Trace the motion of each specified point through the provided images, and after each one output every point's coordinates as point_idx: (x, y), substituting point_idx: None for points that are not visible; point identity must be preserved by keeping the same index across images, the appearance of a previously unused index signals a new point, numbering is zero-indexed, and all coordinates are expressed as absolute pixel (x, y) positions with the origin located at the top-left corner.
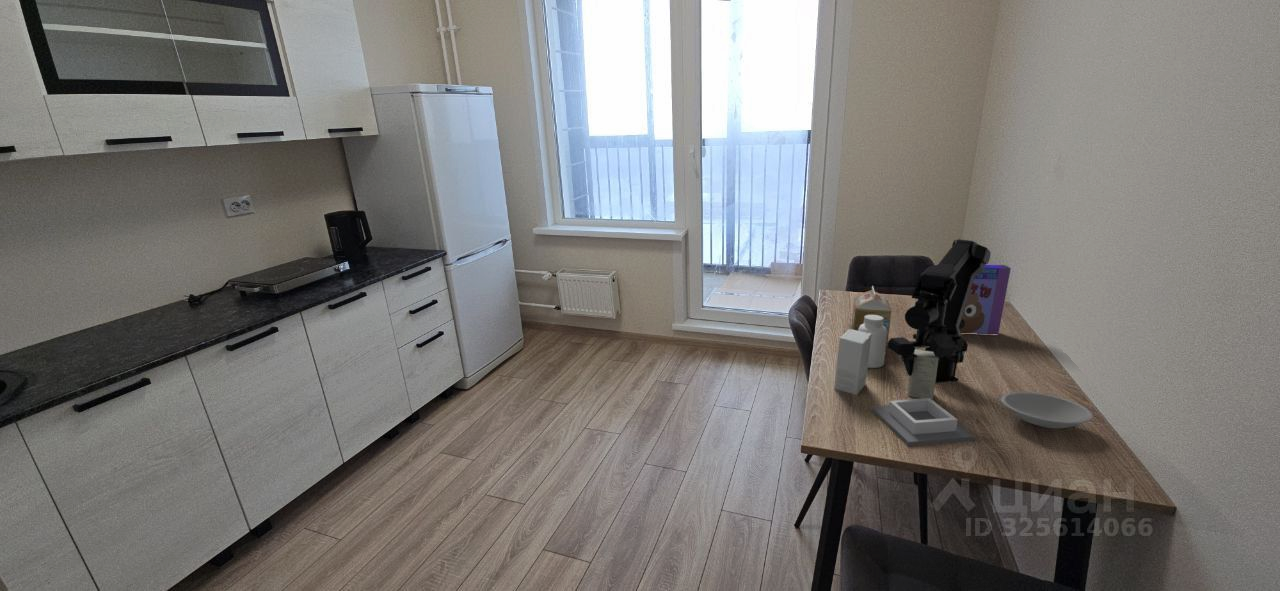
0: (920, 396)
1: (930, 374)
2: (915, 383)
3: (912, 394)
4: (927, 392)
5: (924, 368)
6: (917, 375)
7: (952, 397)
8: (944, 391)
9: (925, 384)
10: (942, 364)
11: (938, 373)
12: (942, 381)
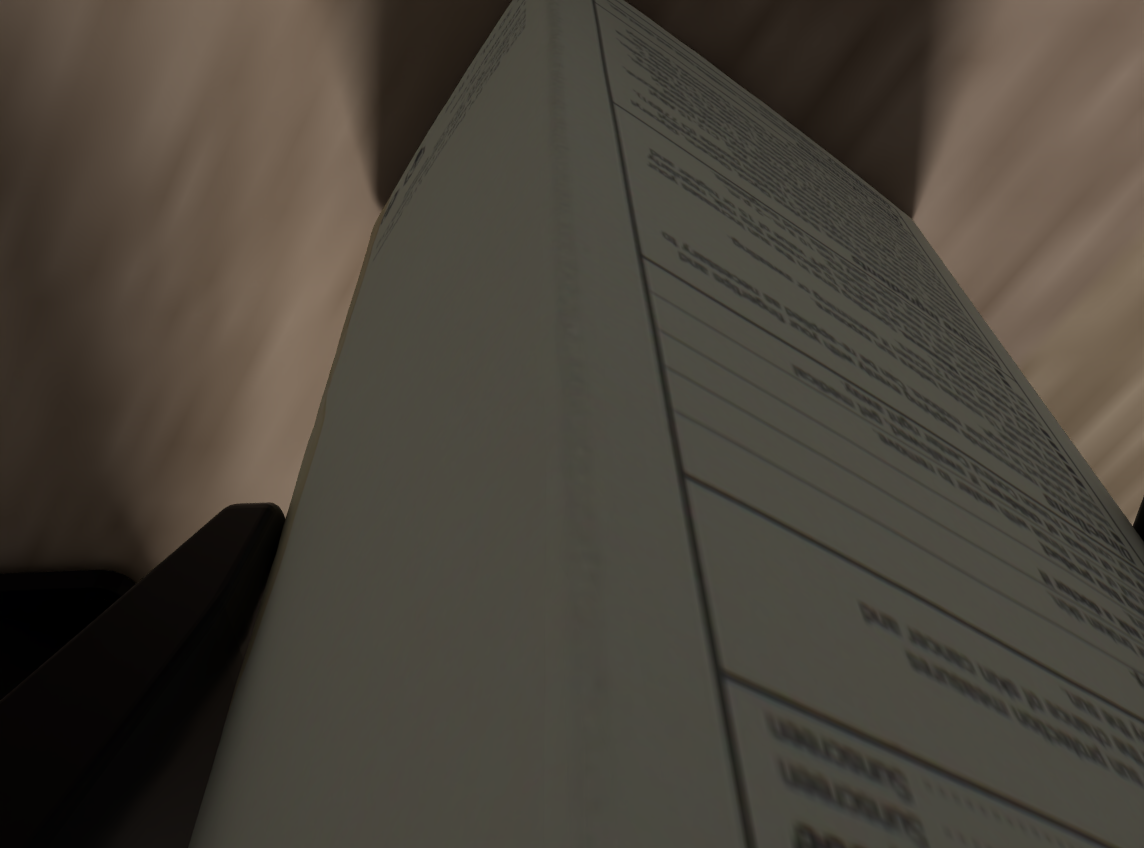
0: (747, 101)
1: (734, 318)
2: (932, 304)
3: (869, 188)
4: (666, 63)
5: (1006, 583)
6: (1004, 444)
7: (36, 53)
8: (115, 302)
9: (756, 184)
10: (12, 774)
11: (229, 510)
12: (36, 580)
